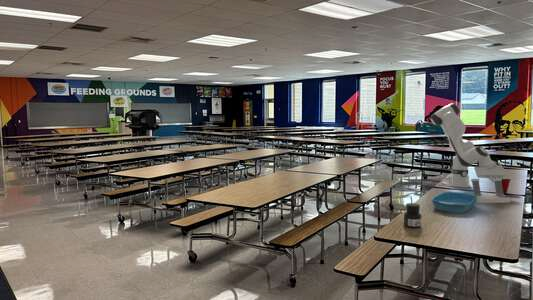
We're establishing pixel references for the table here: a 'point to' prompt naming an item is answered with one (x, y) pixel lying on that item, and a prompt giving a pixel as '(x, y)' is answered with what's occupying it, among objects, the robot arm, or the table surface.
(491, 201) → the switch panel
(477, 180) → the lever
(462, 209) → the casserole dish
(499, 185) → the lever
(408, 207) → the ink bottle
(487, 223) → the table surface
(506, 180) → the plastic cup
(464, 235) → the table surface
